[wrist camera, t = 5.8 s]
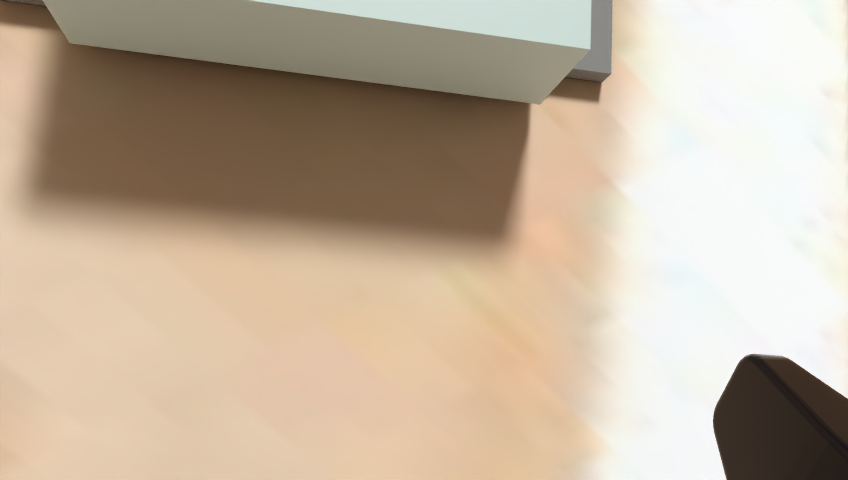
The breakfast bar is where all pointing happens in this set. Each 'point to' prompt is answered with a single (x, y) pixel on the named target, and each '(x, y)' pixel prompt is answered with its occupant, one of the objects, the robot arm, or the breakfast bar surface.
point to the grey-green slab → (355, 38)
